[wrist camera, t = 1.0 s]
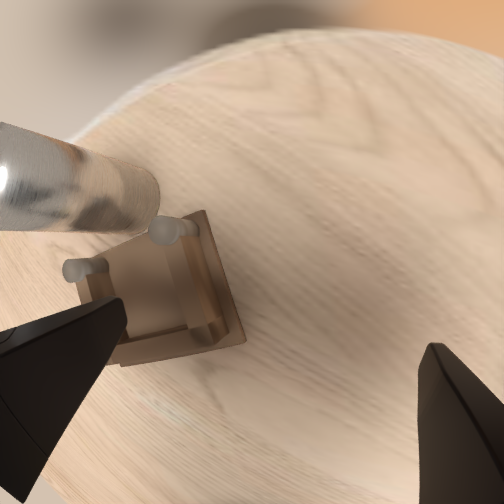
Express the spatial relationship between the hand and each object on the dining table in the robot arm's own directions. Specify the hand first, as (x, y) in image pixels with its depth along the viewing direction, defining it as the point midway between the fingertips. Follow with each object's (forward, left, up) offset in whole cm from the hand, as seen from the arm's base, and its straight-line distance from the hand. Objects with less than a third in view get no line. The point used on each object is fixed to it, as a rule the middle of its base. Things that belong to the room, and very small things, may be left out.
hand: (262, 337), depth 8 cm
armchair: (-7, +9, -13) cm, 18 cm away
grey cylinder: (-1, +15, -14) cm, 20 cm away
